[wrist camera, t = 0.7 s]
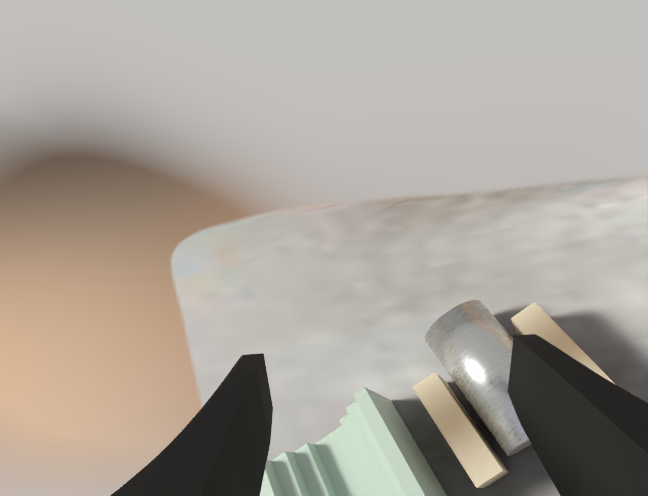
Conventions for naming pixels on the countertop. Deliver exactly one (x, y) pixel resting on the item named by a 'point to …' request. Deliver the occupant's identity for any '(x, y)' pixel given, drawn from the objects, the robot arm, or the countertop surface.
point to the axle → (480, 368)
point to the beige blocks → (458, 422)
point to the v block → (356, 458)
